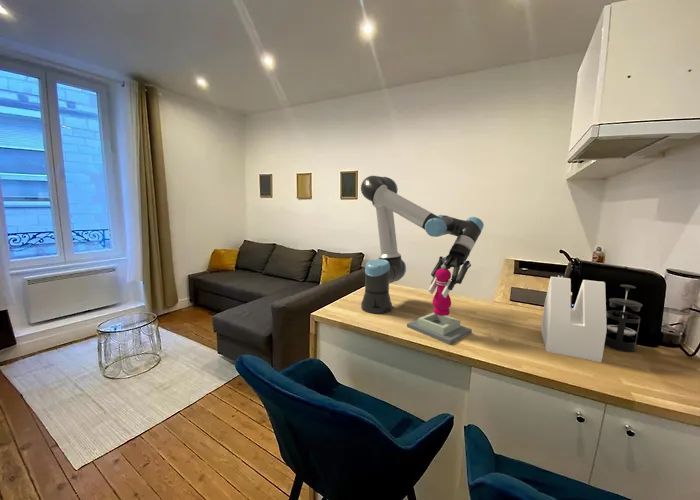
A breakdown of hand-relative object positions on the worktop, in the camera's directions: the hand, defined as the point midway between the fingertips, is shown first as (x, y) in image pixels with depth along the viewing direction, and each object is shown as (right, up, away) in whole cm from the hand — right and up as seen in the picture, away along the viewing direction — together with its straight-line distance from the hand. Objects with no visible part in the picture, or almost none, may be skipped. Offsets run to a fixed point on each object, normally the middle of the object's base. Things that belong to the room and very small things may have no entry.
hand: (436, 293), depth 118 cm
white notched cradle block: (+47, -18, -7) cm, 50 cm away
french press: (+65, -18, -7) cm, 68 cm away
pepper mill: (+3, -9, +4) cm, 10 cm away
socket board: (+2, -16, +5) cm, 17 cm away
